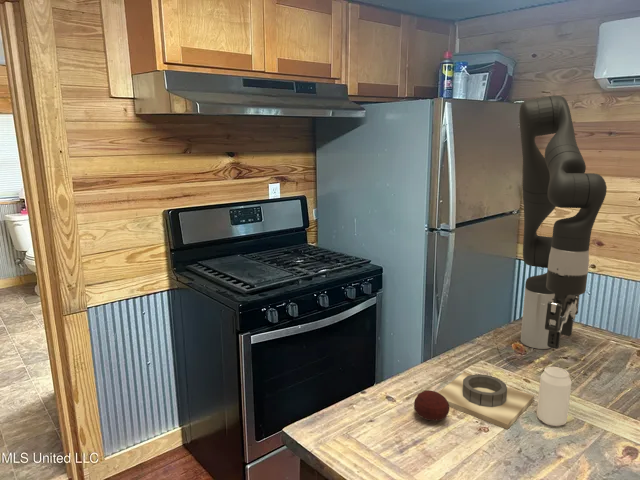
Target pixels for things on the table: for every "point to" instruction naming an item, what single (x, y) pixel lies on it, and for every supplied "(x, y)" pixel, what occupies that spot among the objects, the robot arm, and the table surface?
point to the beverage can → (554, 396)
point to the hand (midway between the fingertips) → (559, 341)
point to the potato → (431, 405)
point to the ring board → (488, 412)
